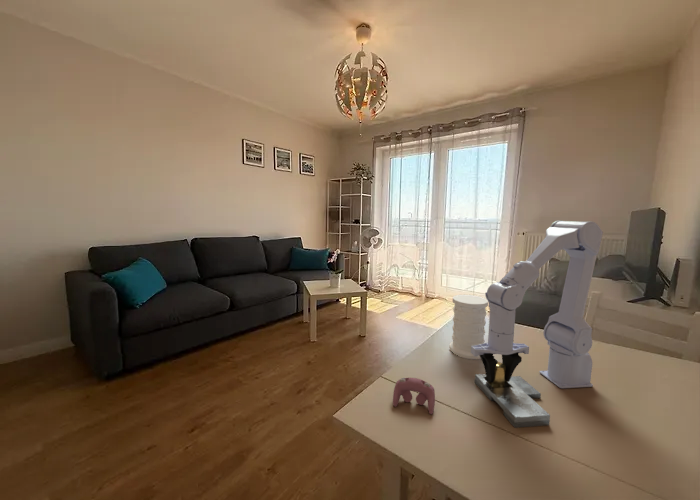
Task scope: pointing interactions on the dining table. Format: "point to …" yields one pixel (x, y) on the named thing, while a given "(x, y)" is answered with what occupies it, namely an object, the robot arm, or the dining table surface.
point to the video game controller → (416, 385)
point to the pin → (499, 376)
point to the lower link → (520, 383)
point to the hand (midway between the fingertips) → (497, 379)
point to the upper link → (516, 404)
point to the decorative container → (468, 324)
